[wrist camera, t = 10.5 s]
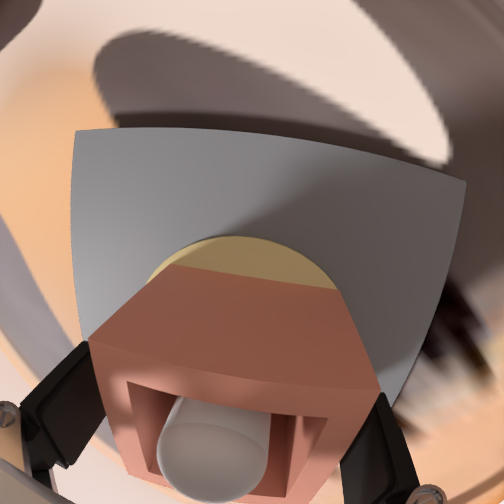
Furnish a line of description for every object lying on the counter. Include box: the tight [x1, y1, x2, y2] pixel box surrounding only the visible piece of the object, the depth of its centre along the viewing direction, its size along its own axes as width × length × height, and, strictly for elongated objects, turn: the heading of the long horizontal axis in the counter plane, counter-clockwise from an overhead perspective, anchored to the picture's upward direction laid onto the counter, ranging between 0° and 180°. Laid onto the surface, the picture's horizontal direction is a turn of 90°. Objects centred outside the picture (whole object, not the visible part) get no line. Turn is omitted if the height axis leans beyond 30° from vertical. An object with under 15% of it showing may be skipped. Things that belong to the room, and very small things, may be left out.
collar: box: [88, 264, 381, 504], centre depth 10 cm, size 7×7×6 cm
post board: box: [71, 128, 467, 504], centre depth 10 cm, size 18×18×9 cm
